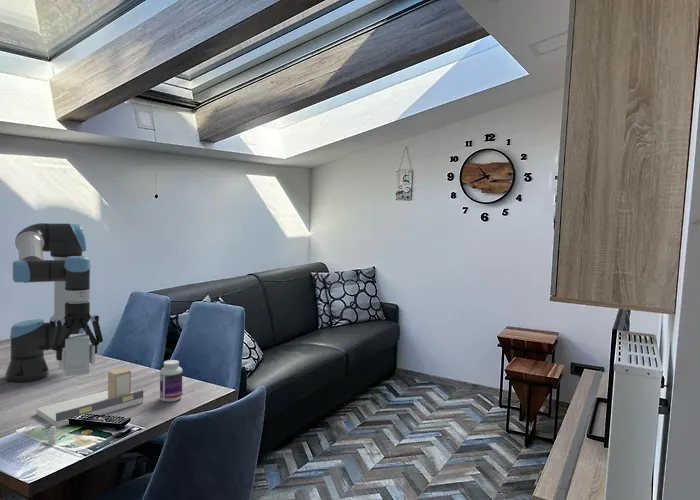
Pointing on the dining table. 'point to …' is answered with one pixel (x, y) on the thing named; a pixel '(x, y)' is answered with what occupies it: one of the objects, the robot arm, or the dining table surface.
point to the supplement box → (77, 354)
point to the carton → (119, 382)
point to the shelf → (87, 406)
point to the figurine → (53, 437)
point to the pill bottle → (171, 381)
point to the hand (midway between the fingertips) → (77, 366)
